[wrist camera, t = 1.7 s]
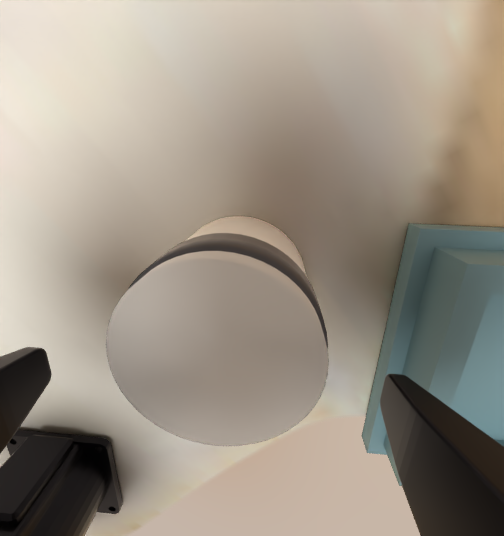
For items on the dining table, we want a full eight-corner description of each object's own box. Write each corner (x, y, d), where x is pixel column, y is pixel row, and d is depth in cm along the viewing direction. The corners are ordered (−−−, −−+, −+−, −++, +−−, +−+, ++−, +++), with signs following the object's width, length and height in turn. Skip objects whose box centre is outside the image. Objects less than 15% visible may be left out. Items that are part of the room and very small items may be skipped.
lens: (300, 340, 14) (318, 457, 9) (179, 332, 14) (119, 438, 9) (314, 216, 12) (349, 262, 6) (170, 210, 12) (84, 248, 7)
